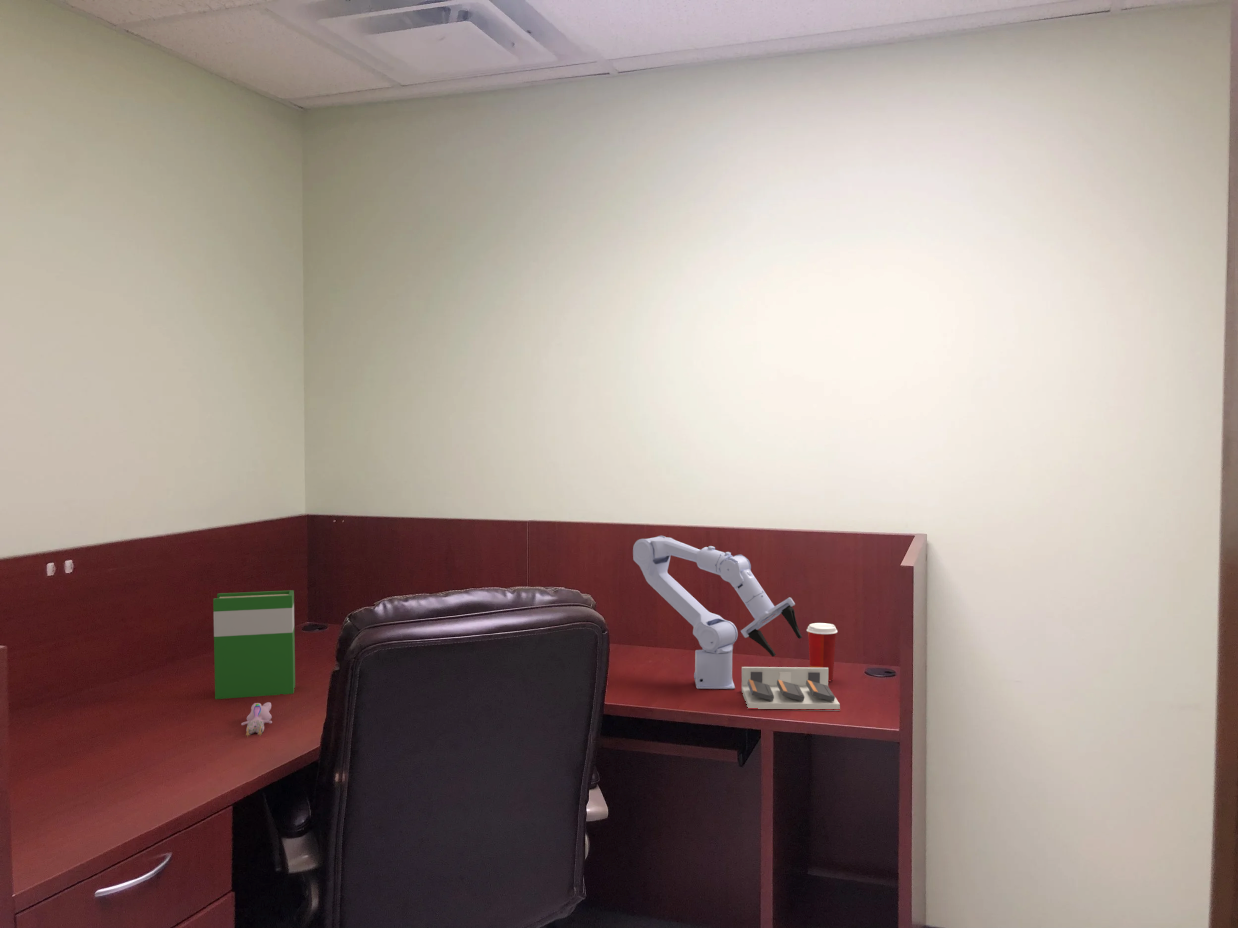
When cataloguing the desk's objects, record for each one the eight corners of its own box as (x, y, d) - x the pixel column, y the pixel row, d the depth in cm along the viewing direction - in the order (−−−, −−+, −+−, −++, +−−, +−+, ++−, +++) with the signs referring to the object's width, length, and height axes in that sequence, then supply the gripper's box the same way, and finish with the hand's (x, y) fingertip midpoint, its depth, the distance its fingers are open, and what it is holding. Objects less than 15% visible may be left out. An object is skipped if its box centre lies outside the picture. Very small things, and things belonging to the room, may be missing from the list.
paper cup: (834, 675, 251) (835, 622, 251) (838, 684, 244) (839, 629, 243) (804, 675, 252) (805, 621, 251) (807, 683, 244) (807, 628, 244)
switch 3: (812, 695, 223) (814, 691, 223) (805, 683, 233) (806, 679, 233) (833, 701, 223) (835, 696, 223) (825, 689, 233) (826, 684, 233)
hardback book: (215, 699, 230) (213, 599, 228) (219, 690, 237) (217, 593, 236) (293, 693, 234) (291, 595, 233) (295, 685, 241) (293, 590, 240)
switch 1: (751, 695, 223) (753, 690, 223) (747, 683, 233) (748, 678, 233) (772, 700, 223) (774, 696, 223) (767, 688, 233) (768, 684, 233)
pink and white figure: (269, 742, 204) (278, 709, 218) (268, 715, 203) (277, 685, 217) (238, 744, 202) (249, 711, 217) (237, 717, 201) (247, 686, 216)
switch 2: (782, 695, 223) (783, 690, 223) (776, 683, 233) (777, 678, 233) (803, 701, 223) (804, 696, 223) (796, 688, 233) (797, 684, 233)
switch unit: (748, 709, 222) (748, 683, 222) (741, 690, 237) (741, 666, 237) (839, 710, 222) (840, 684, 222) (827, 691, 237) (827, 667, 237)
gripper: (727, 614, 233) (758, 663, 228) (776, 580, 230) (809, 629, 225) (734, 616, 239) (765, 663, 234) (782, 583, 236) (814, 630, 232)
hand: (787, 646), depth 230 cm, fingers open, 7 cm apart
